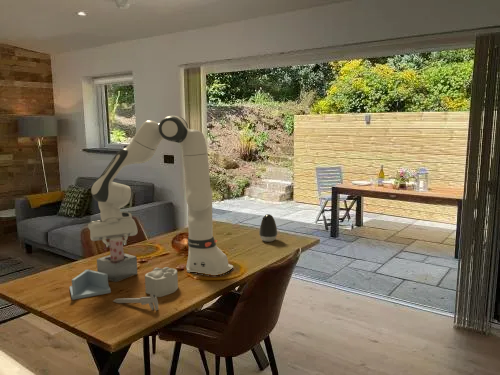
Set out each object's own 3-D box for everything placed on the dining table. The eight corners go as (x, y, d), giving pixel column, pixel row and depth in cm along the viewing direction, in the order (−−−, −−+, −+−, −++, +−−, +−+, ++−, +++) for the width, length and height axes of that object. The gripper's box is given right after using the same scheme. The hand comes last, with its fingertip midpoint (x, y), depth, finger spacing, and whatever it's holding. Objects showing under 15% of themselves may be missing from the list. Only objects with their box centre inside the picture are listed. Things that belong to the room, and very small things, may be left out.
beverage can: (113, 268, 193) (110, 236, 191) (125, 268, 194) (123, 236, 191) (110, 273, 188) (107, 240, 185) (123, 272, 188) (121, 239, 186)
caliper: (158, 310, 157) (157, 294, 156) (156, 311, 156) (156, 295, 155) (114, 301, 165) (113, 285, 164) (112, 302, 164) (111, 286, 163)
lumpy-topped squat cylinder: (142, 291, 173) (141, 271, 172) (168, 282, 183) (167, 262, 182) (157, 298, 167) (157, 277, 165) (184, 288, 176) (183, 268, 175)
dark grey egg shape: (255, 241, 241) (255, 214, 239) (265, 237, 250) (265, 211, 247) (270, 244, 235) (270, 217, 233) (280, 239, 244) (280, 213, 241)
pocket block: (137, 273, 193) (136, 256, 191) (115, 282, 183) (114, 264, 182) (119, 268, 199) (118, 252, 198) (97, 276, 190) (96, 259, 188)
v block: (69, 289, 176) (68, 272, 175) (106, 282, 182) (105, 266, 181) (72, 299, 166) (70, 282, 165) (110, 292, 172) (109, 275, 171)
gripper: (87, 218, 188) (91, 245, 181) (134, 212, 197) (140, 238, 190) (87, 225, 193) (91, 252, 186) (133, 220, 202) (138, 245, 195)
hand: (116, 245), depth 188 cm, fingers closed on beverage can, 6 cm apart
